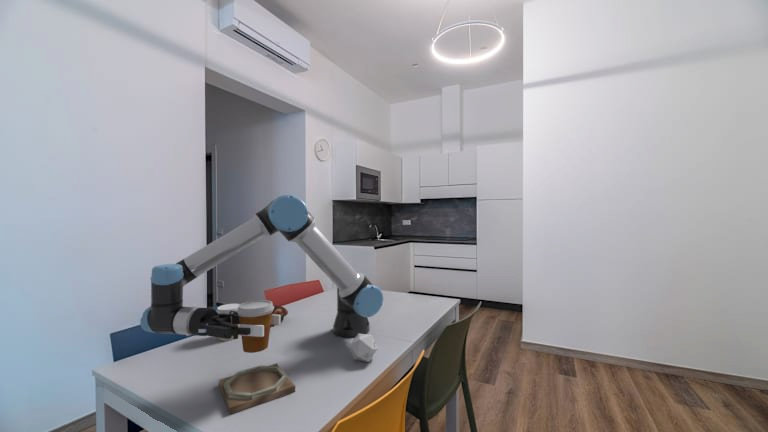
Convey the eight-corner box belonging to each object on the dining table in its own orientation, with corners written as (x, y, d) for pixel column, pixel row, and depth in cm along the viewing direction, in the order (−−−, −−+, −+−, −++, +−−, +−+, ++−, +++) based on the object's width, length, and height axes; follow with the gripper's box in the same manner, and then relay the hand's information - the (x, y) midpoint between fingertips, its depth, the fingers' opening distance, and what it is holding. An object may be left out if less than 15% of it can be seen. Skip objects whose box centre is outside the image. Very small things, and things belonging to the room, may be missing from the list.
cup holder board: (276, 368, 95) (276, 360, 95) (295, 391, 82) (295, 382, 82) (218, 385, 86) (218, 376, 86) (229, 414, 73) (229, 403, 73)
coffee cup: (219, 343, 114) (219, 311, 114) (213, 336, 121) (213, 306, 121) (245, 337, 120) (245, 306, 120) (238, 330, 127) (238, 302, 127)
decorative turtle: (252, 327, 131) (252, 308, 132) (277, 319, 145) (277, 302, 146) (270, 329, 128) (270, 309, 128) (293, 320, 141) (293, 303, 142)
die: (359, 370, 95) (377, 343, 96) (340, 351, 99) (358, 326, 100) (368, 368, 102) (385, 343, 103) (350, 350, 106) (367, 327, 107)
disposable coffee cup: (260, 357, 78) (261, 310, 78) (228, 354, 80) (228, 308, 80) (280, 342, 88) (280, 300, 88) (251, 340, 90) (251, 299, 90)
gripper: (222, 322, 97) (289, 325, 94) (165, 350, 76) (249, 356, 73) (222, 298, 97) (289, 301, 94) (165, 319, 76) (249, 324, 73)
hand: (272, 325), depth 83 cm, fingers closed on disposable coffee cup, 8 cm apart
